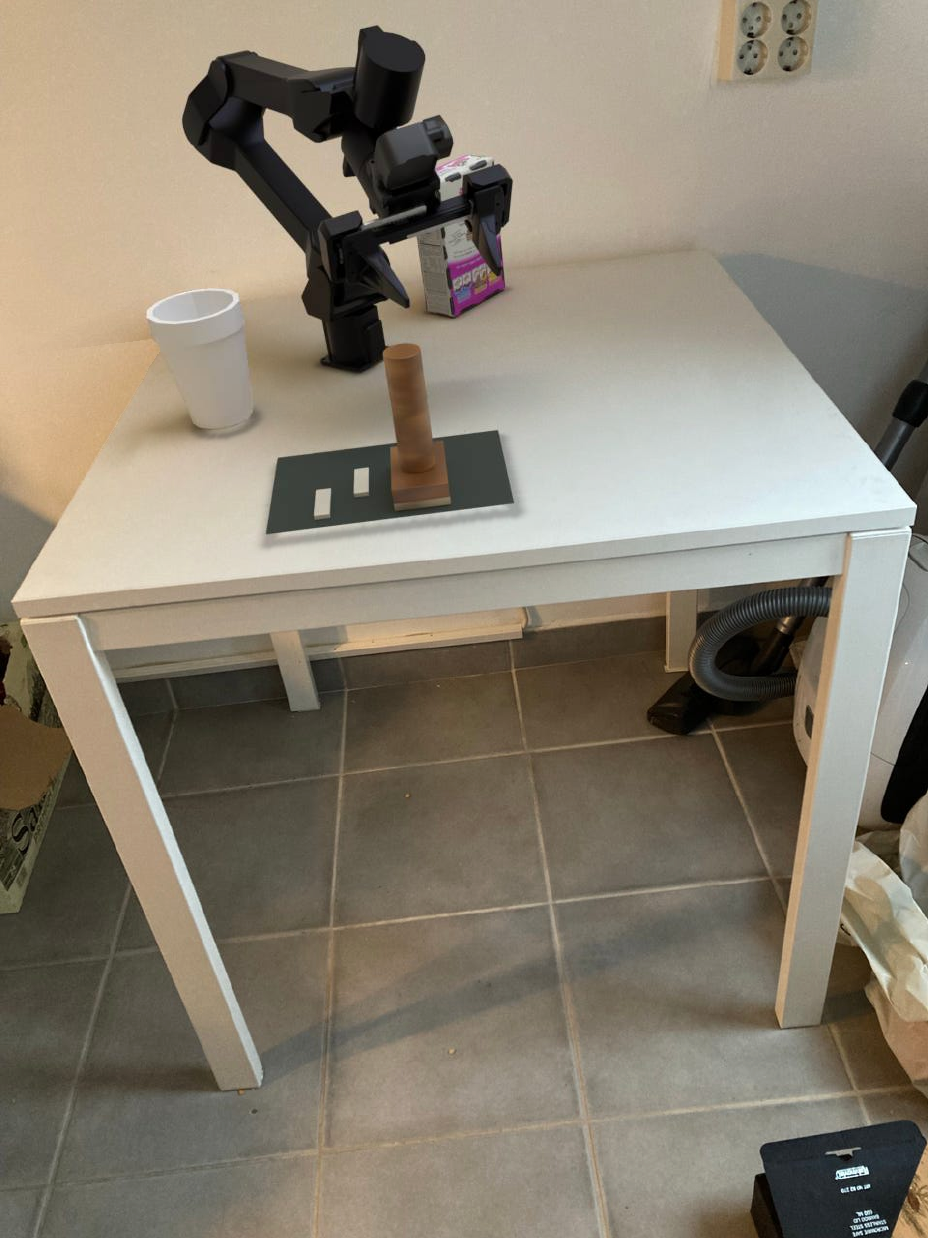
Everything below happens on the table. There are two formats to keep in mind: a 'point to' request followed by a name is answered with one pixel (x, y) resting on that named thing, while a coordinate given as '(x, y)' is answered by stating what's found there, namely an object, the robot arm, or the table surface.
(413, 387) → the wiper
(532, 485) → the table surface
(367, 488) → the chalk streak
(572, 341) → the table surface
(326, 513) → the chalk streak
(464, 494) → the board
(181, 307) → the foam cup
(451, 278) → the candy bar box
